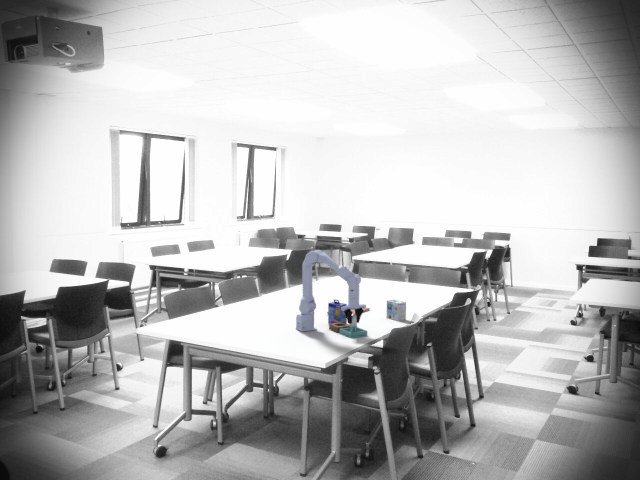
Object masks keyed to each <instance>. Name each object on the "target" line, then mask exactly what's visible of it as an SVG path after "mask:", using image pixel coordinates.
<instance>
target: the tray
mask: <svg viewBox="0 0 640 480" xmlns="http://www.w3.org/2000/svg"><path fill="white" fill-rule="evenodd" d="M339 335H342V336H344V335H345V337H348V338H350V339H353V338H360V337H365V336H368V330H366V329H365V328H364V329H363V328H361V327H358V326H357V332H352V333H351V332H349V328H342V329H340V333H339ZM352 337H353V338H352Z"/></svg>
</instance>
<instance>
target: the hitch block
mask: <svg viewBox="0 0 640 480" xmlns="http://www.w3.org/2000/svg"><path fill="white" fill-rule="evenodd" d="M342 328H349V323H347V324H346V323H343V322H341V323H333V324H328V329H329V330H330V331H333V332H335V333H336V334H340V329H342Z"/></svg>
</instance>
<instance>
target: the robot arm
mask: <svg viewBox="0 0 640 480" xmlns="http://www.w3.org/2000/svg"><path fill="white" fill-rule="evenodd" d="M318 263H323V264H325V265H327V266H328V267H329V268H331V269H333V270H334V271H336V275H337V276H339V277H340V278H341V279H343V280H344V281H345V282H346V284H347V286H348V295H347V296H348V298H347V299H348V303H347V306H343V307H341V310H342V311H344V313H345V315H346V317H347V324H351V317H352V311H351V310H353V309H355V314H357V324H359V323H360V320H361V317H362V314H363V313H364V312H363V308H364V309H366V308H367V304H363V303H362V304H360V283H361V281H362V278H361V276H360V275H359V274H358V273H355V272H352V271H351V270H350V269H349V268H348V266H346V265H345V266H344V265H339V264H338V263H337V262H336V261H335V260H334V259H332V258H331V257H330V256H329V255H328V254H327V253H326V252H325V251H323V250H321V249H316V250H312V251H311V250H310V251H309V252H307V253H306V254H305V258H304V260H303V261H302V266H301V267H302V268H301V270H302V272H301V273H302V274H301V275H302V277H301V278H302V280H301V281H302V297H301V299H300V304H299V306H298V310H299V311H300V313H299V314H296V318H295V322H296V323H295V325H296V327H295V329H296V330H298V331H300V332H311V331H317V330H318V329H317V328H316V327H315V311H316V308H317V303H316V301H315V297H314V295H313V293H314V292H313V267H314V266H315V265H316V264H318Z"/></svg>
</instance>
